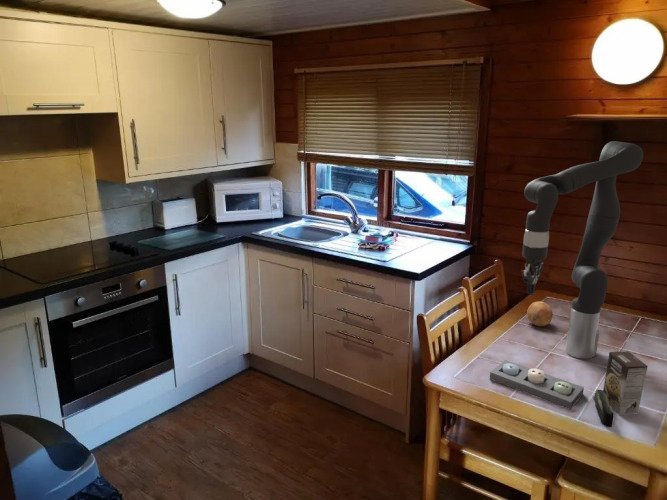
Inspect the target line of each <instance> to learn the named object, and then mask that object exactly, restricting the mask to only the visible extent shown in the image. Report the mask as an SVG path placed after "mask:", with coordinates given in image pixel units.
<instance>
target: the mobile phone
mask: <svg viewBox="0 0 667 500" xmlns="http://www.w3.org/2000/svg"><path fill="white" fill-rule="evenodd" d="M592 399H593V401H594V403H595V404H594V407H595V409H596V412H597V415H598V418H599V420H600V423H601V425H602V426H604V427H606V428H612V427H613V423H614V417H615V415H614V414H615V413H614V412H613V409H612V407H611V406H610V405H609V403H608V398H607V395H606V393H605V392H604V391H603V389H596V391H595V393H594V396H592Z"/></svg>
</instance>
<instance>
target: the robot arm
mask: <svg viewBox="0 0 667 500" xmlns="http://www.w3.org/2000/svg"><path fill="white" fill-rule="evenodd" d="M643 159H644V152H643V149H642V148H641V147H640V146H639V145H637V144H635V143H631V142H625V141H624V142H623V141H618V140H617V141H616V140H612V141H610V142H609V141H608V143H606V144H605V145H604V147H603V148H602V150H601V153H600V156H599V160H598V161H593V162H588V163H587V162H586V163H583V164H578V165H574V166H571V167H568V168H567V169H564V170H562V171H560V172H559V173H556V174H552V175H547V176H542V177H539V178H535V179H534V180H532V181H530V182H528V183H527V184H526V186H525V188H524V191H523V193H524V194H523V195H524V197H525V199H526V200H527V201H529V202H531V203H534V204H536V207H535V209H534V210H531V211H529V212H528V213H527V215H526V221H525V231H524V234H523V243H522V244H523V245H522V253H521V254H522V257H523V258H524V259H525V260H526V262H525V263H524V268H525V269H524V270H521V277H522V279H523V282H524V283H526V284H527V285H526V294H527V295H534V294H535V293H536V284H537V282H538V280H540V278H541V275H542V272H543V270H544V266H545V263H544V262H542V261H543V260H546V259H547V257H548V251H549V240H550V225H551V218H552V215H553V213H554V210H555V208H556V206H557V203H558V200H559V195H566V194H569V193H571V192H574V191H576V190H578V189H580V188H582V187H584V186H587V185H590V184H592V183H595V182H596V183H595V188H594V192H593V196H592V201H591V204H590V209H589V212H588V217H587V220H586V225H585V231H584V233H583V237H582V243H581V247H580V248H579V252H578V255H577V258H576V261H575V264H574V265H573V268H572V269H573V270H572V273H571V280H572V282H573V284H574V285H576V287H578V288H579V294H578V297H575V298H574V299H572V301H571V309H570V317H569V321H568V322H569V324H568V328H567V329H568V331H567V337H566V345H565V352H566V353H567V354H568V355H569V356H571V357H574V358H577V359H583V360H584V359H587V360H588V359H591V358H593V357H597V352H598V346H599V340H600V333H601V332H600V331H599V330H598V328H599V322H600V315H601V308H602V307H603V305H604V303H605V300H606V296H607V290H608V285H609V278H608V277H609V276H608V274H607V273H606V272H605V271H604V270H602V269H601V268H600V267H599V262H600V258H601V254H602V251H603V249H604V248H605V246H606V245H607V244H608V242H610V240H611V239H612V237H614V234H615V233H616V231H617V228H618V224H619V222H620V221H619V220H620V216H621V206H620V205H621V204H620V201H619V197H618V193H617V187H616V184H617V183H616V182H617V176H618V175H622V174H627V173H629V172H633V171H635V170H636V169H637V168H639V166H640V165H641V163H642V161H643Z"/></svg>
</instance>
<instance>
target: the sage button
mask: <svg viewBox="0 0 667 500" xmlns="http://www.w3.org/2000/svg"><path fill="white" fill-rule="evenodd" d="M554 391H555V392H558V393H560V394H563V395H566V396H570V395H571V391H572V386H571V385H570V384H568V383H566V382H562V381H558V382H555V384H554Z"/></svg>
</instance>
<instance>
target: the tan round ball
mask: <svg viewBox="0 0 667 500" xmlns="http://www.w3.org/2000/svg"><path fill="white" fill-rule="evenodd" d="M526 316H527V319H528V322H530V323H531V324H533V325H535V326H537V327H545V326H547V325H549V324H550V323H551V322H552V321H553V318H554V313H553V310H552V308H551V306H550V305H549V304H547V303H546V302H544V301H534V302H532V303H531V304H530V305H529V306H528V309H527V310H526Z"/></svg>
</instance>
